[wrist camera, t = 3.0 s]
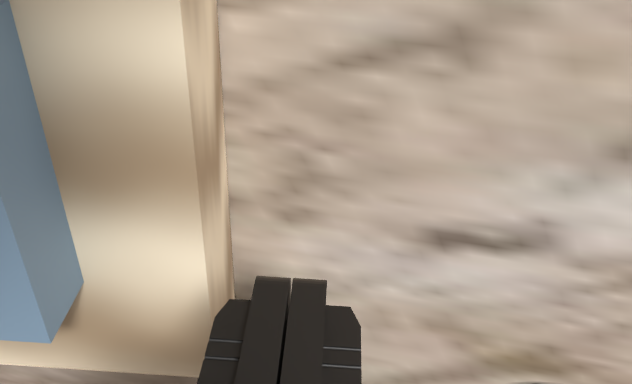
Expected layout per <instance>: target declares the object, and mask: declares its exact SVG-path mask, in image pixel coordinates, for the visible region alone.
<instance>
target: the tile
mask: <svg viewBox="0 0 632 384" xmlns="http://www.w3.org/2000/svg"><path fill="white" fill-rule="evenodd" d="M83 283H84V280H83V276H82V273H81V269H80V265H79V261H78V258H77V254H76V250H75V246H74V243H73V239H72V235H71V231H70V227H69V224H68V220H67V216H66V212H65V209H64V205H63V201H62V197H61V194H60V190H59V186H58V182H57V179H56V175H55V171H54V167H53V164H52V160H51V156H50V152H49V149H48V145H47V141H46V137H45V134H44V130H43V126H42V122H41V119H40V115H39V111H38V107H37V104H36V100H35V96H34V92H33V89H32V85H31V81H30V77H29V74H28V70H27V66H26V62H25V58H24V55H23V51H22V47H21V43H20V40H19V36H18V32H17V28H16V25H15V21H14V17H13V13H12V10H11V6H10V2H9V0H0V340H5V341H20V342H35V343H50V344H51V343H52V341H53V339H54V337H55V335H56V333H57V332H58V330H59V328H60V326H61V324H62V322H63V320H64V318H65V317H66V315H67V313H68V311H69V309H70V307H71V305H72V304H73V302H74V300H75V298H76V296H77V294H78V292H79V291H80V289H81V287H82V285H83Z"/></svg>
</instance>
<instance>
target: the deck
mask: <svg viewBox="0 0 632 384" xmlns="http://www.w3.org/2000/svg"><path fill="white" fill-rule="evenodd" d="M9 2H10V6H11V10H12V13H13V17H14V21H15V25H16V28H17V32H18V36H19V40H20V43H21V47H22V51H23V55H24V58H25V62H26V66H27V70H28V74H29V77H30V81H31V85H32V89H33V92H34V96H35V100H36V104H37V107H38V111H39V115H40V119H41V122H42V126H43V130H44V134H45V137H46V141H47V145H48V149H49V152H50V156H51V160H52V164H53V167H54V171H55V175H56V179H57V182H58V186H59V190H60V194H61V197H62V201H63V205H64V209H65V212H66V216H67V220H68V224H69V227H70V231H71V235H72V239H73V243H74V246H75V250H76V254H77V258H78V261H79V265H80V269H81V273H82V276H83V280H84V283H83V285H82V287H81V289H80V291H79V292H78V294H77V296H76V298H75V300H74V302H73V304H72V305H71V307H70V309H69V311H68V313H67V315H66V317H65V318H64V320H63V322H62V324H61V326H60V328H59V330H58V332H57V333H56V335H55V337H54V339H53V341H52V343H51V344H50V343H35V342H20V341H5V340H0V364H4V365H19V366H33V367H48V368H63V369H78V370H93V371H108V372H123V373H138V374H153V375H167V376H182V377H197V378H199V374H200V371H201V367H202V363H203V360H204V358H205V352H206V348H207V344H208V342H209V337H210V333H211V329H212V326H213V322H214V318H215V316H216V315H217V314H218V312H219V311H220V310H221V309H222V308H223V306H224V305H225V304H226V303H227V302H228V300H229V299H235V292H234V276H233V259H232V243H231V227H230V210H229V194H228V178H227V161H226V145H225V129H224V112H223V96H222V80H221V63H220V47H219V31H218V14H217V0H9Z"/></svg>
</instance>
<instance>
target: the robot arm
mask: <svg viewBox="0 0 632 384" xmlns="http://www.w3.org/2000/svg"><path fill="white" fill-rule="evenodd" d="M326 288H327V280H314V279H299V278H293V283H292V291H291V278H281V277H266V276H257V277H256V279H255V284H254V289H253V294H252V299H251V300H236V299H229V300H228V302H227V303H226V304H225V305H224V306H223V308H222V309H221V310H220V311H219V312H218V314H217V315H216V316H215V318H214V322H213V326H212V329H211V333H210V337H209V342H208V344H207V348H206V352H205V358H204V360H203V363H202V367H201V371H200V374H199V378H198V382H197V384H361V326H360V324H359V322H358V320H357V319H356V317H355V315H354V313H353V311H352V309H351V307H344V306H329V305H326Z"/></svg>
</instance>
